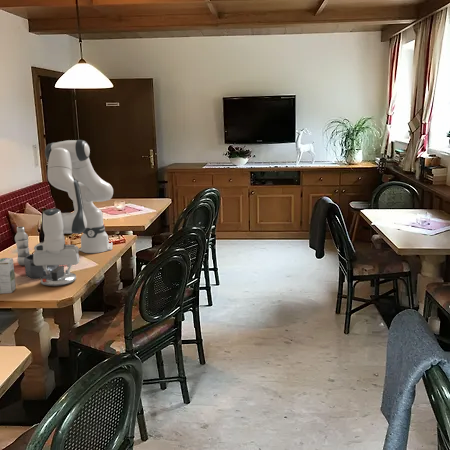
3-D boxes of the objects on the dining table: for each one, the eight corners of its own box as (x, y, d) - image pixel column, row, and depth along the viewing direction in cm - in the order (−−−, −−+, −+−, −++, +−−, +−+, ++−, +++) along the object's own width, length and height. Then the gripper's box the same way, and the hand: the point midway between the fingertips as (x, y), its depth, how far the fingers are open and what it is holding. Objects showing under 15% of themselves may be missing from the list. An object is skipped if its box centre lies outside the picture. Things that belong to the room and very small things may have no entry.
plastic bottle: (27, 267, 259) (22, 228, 255) (15, 266, 261) (10, 228, 256) (34, 263, 265) (30, 226, 261) (22, 262, 267) (18, 225, 262)
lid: (47, 277, 242) (46, 264, 241) (80, 276, 242) (79, 263, 241) (35, 288, 227) (34, 274, 225) (70, 287, 227) (69, 274, 225)
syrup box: (3, 289, 226) (-1, 258, 223) (16, 288, 227) (12, 257, 224) (-2, 293, 221) (-6, 261, 218) (12, 293, 221) (8, 261, 218)
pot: (35, 268, 257) (34, 250, 255) (63, 267, 257) (62, 250, 255) (20, 281, 237) (17, 262, 235) (50, 280, 237) (48, 261, 235)
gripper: (79, 242, 233) (82, 271, 237) (35, 243, 234) (38, 272, 237) (75, 246, 227) (78, 275, 230) (30, 247, 228) (33, 276, 231)
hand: (58, 274), depth 234 cm, fingers open, 8 cm apart
